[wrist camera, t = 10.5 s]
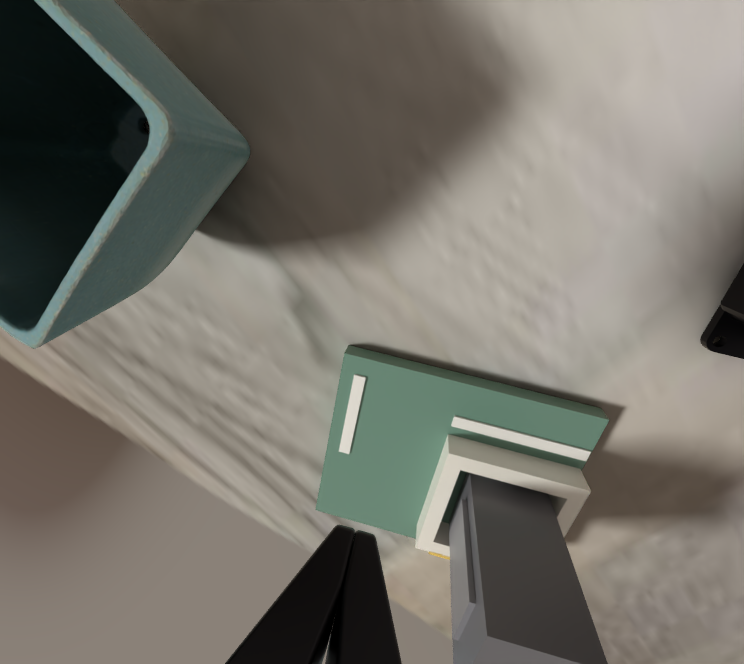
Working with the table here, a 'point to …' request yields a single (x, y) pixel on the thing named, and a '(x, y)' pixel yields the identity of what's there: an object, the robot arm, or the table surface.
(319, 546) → the robot arm
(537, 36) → the table surface
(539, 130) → the table surface
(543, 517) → the plug
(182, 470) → the table surface
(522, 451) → the header board
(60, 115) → the flower pot
